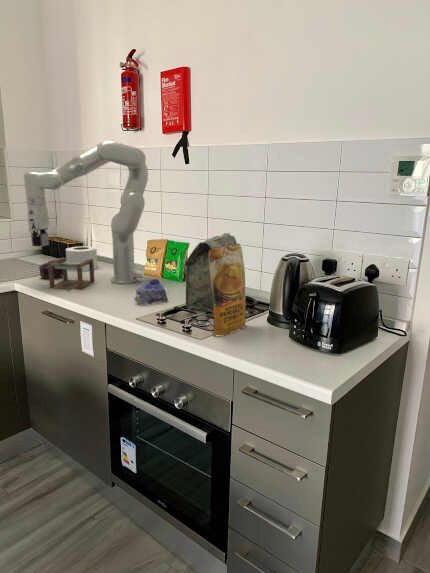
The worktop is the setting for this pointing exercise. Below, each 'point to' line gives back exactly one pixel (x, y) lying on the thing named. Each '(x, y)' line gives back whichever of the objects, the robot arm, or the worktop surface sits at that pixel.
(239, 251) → the pancake mix bag
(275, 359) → the worktop surface
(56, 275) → the rock
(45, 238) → the gray cube
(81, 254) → the toilet paper roll
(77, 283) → the frame
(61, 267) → the trapdoor
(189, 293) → the bag
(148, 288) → the mineral
